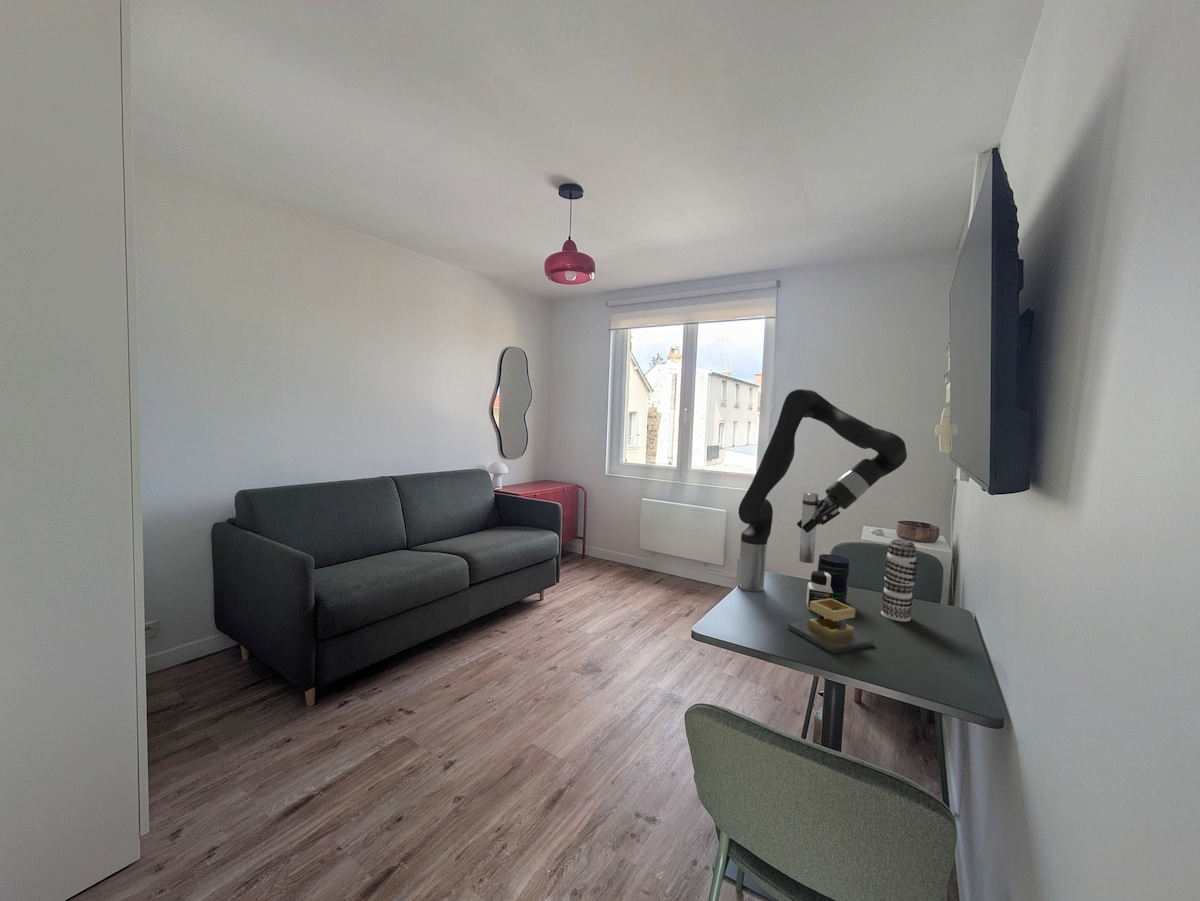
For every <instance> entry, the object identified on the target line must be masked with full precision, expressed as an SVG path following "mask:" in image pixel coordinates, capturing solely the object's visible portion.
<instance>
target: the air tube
mask: <svg viewBox="0 0 1200 901" xmlns="http://www.w3.org/2000/svg"><path fill="white" fill-rule="evenodd" d="M818 500H819V493H816V492H815V493H814V492H803V496H802V509H801V510H802V512H801V519H802V524H801V528H800V539H799V540H800V545H799V555H798V556H799V557H798V561H799V562H801V563H803V564H814V563H815V550H816V539H817V538H816V535H817V526H815V527H814V528H813V529H812V530H811V531H810V532H808V533H807V532H805V531H804V530H803V529H802V526H803V525H805V524H806V523H807V522H808V521H809V520H810V519H812V518H813V517H814V516H815V515H816V511H817V507H818ZM812 520H813V519H812Z"/></svg>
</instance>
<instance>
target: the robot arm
mask: <svg viewBox="0 0 1200 901" xmlns="http://www.w3.org/2000/svg"><path fill="white" fill-rule="evenodd" d="M803 418H805V419H806V418H810V419H813V420H815V421H816V420H817V421H819V422H821V423H824V424H825V425H827V426H829V428H831V429H832V430H833V431H834V432H835V433H836V434H837V435H839V436H840V437H841V438H843V439H844V440H845V441H847V442H849V443H851V444H853V445H855V446H857V447H858V448H861V449H864V450H867V449H871V450H873V451H875V452H876V453H877V454H876V455H875V456H874V457H872V458H870V459H869V458H863V459H862V460H860V461H859V462H857V463H856V464H855V465H854V466H853V467H851V469H849V470H848V471H847V472H845V473H844V474H842V475H841V476H840V477H839V478H838V479H836V481H834V482H832V484H831V485H829V487H827V488H825V494H826V497H825V498H822V499H821V500H819V499H818V507H817V511H816V515H815V516H814V517H813V518H812V519H813V520H812V519H810V520H809V521H808V522H807V523H806V524H805V525H803V526H802V529H803V530H804V531H805V532H807V533H808V532H810V531H811V530H812V529H813V528H814V527H815V526H816V527H817V526H819V525H822V526H823V525H825V524H826V523H828V522H829V521H831V520H832V519H834V518H836V517H838V516H839V515H840V513H841V512H840V511H839V509H840V508H841V509H842V510H847V509H848V508H849V507H851V505H853V504H854V503H855V502H856V501H857V500H858V499H860V498H861V497H862V496H863V495H864V494H865V493H866V492H867V491H868V489H870V488H871V487H872V486H873V485H874V484H876V483H877V482H878V481H879V480H880V479H882V478H883V477H885V476H887V475H889V474H890V473H892V472H894V471H895V470H897V469H899V468H900V467H901V466H902V465H904V463H905V462H906V460H907V458H908V454H907V453H908V452H907V448H906V442H905V441H904V439H902V438H901V437H900V436H899V435H897V434H896V433H893V432H890V431H887V430H884V429H881V428H876V427H873V426H872V425H870V424H868V423H867V422H865V421H863V420H861V419H859V418H856V417H855V416H852V415H851V414H849V413H847V412H845V411H843V410H842V409H840V408H838V407H837V406H835V405H833V403H831V402H830V401H828V400H827V399H825V398H824V397H823V396H822V395H821V394H819V393H818V392H816V391H815V390H811V389H803V388H802V389H801V388H796V389H793V390H791V391H790V392H789V393H788V394H787V396H786V397H785V399H784V401H783V404H782V407H781V411H780V414H779V417H778V420H777V424H776V426H775V429H774V431H773V433H772V436H771V438H770V441H769V443H768V445H767V447H766V449H765V451H764V454H763V456H762V458H761V461H760V464H759V466H758V468H757V470H756V473H755V475H754V478H753V479H752V482H751V483H750V485H749V487H748V489H747V491H746V493H745V494H744V496H743V498H742V499H741V502H740V503H739V507H738V518H739V519H740V520H741V521H742V523H744V524H746V525H748V526H747V528H745V529H744V531H742V532H741V536H740V547H739V548H740V549H739V550H740V551H739V558H737V563H736V564H737V565H736V566H737V567H736V578H735V579H736V580H735V584H736V585H737V587H738V586H740V585H741V586H740V587H738V589H741V590H744V591H747V592H752V593H754V592H756V593H757V592H758V593H759V592H762V591H764V589H765V576H766V563H767V553H768V552H767V549H768V541H769V540H768V539H769V537H770V535H771V531H772V522H773V516H774V515H773V510H774V509H773V506H772V504H771V501H769V499H767V497H768V494H769V493H770V492H771V491H772V489H773V488H774V487H775V486H777V484H778V483H779V482H780V481H781V480H783V478H784V477H785V475H786V474H787V472H788V470H789V468H790V466H791V464H792V462H793V459H794V456H795V450H796V448H795V444H796V443H795V442H796V441H795V440H796V439H795V438H796V433H797V430H798V428H799V425H800V424H801V422H802V420H803ZM801 524H802V518H801V519H800V520H799V521H798V522H797V523H796V526H798V528H799V529H801Z"/></svg>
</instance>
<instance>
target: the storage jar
mask: <svg viewBox="0 0 1200 901" xmlns="http://www.w3.org/2000/svg"><path fill="white" fill-rule="evenodd" d="M817 571H823V572H826V573H828V574H830V575H831V584H830V586H831V589H832V591H833V598H832V599H834V600H836V601H839V602H841V603H843V604H845V605H847V604H846V603H847V595H848V587H847V583H848V577H849V574H850V573H849V572H850V559H849V558H846V557H844V556H841V555H835V554H825V553H824V554H819V556H818V563H817Z"/></svg>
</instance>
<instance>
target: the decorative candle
mask: <svg viewBox="0 0 1200 901" xmlns="http://www.w3.org/2000/svg"><path fill="white" fill-rule="evenodd" d="M887 544H888V552H887V554H886V555H885V557H884V560H885V561H884V566H885V567H884V568H883V570H884V572H883V577H884V580H885V582H884V587H883V591H882V597H881V599H882V601H881V603H880V604H881V606H880V610H881V611H880V615H881V616H882V617H884V618H887V619H890V620H893V621H897V622H909V621H911V619H912V618H911V616H912V607H911V606H913V601H914V599H913V586H914V585H915V581H916V579H915V578H914V576H917V573H916V572H915V571H917V570H918V569H917V567H916V565H918V564H919V563H918V561H916V559H917V557H916V553H917V552H916V551H917V549H918V547H917V546H915V544H914V542H912V541H910V540H907V539H901V538H900V539H899V538H894V539H893V540H892V541H891V542H888V543H887Z"/></svg>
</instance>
